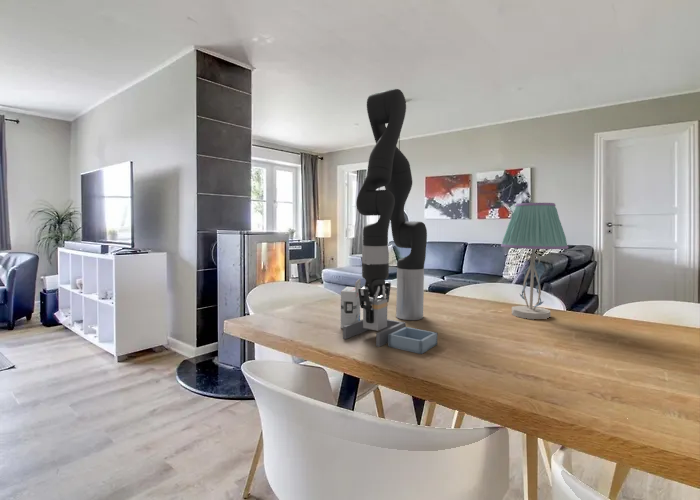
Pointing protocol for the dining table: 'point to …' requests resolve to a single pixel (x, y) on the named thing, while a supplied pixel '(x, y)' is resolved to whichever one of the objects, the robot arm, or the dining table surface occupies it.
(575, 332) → the dining table surface
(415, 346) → the tray
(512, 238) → the table lamp
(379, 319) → the tan-banded grey block
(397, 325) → the bay
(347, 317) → the ink box
